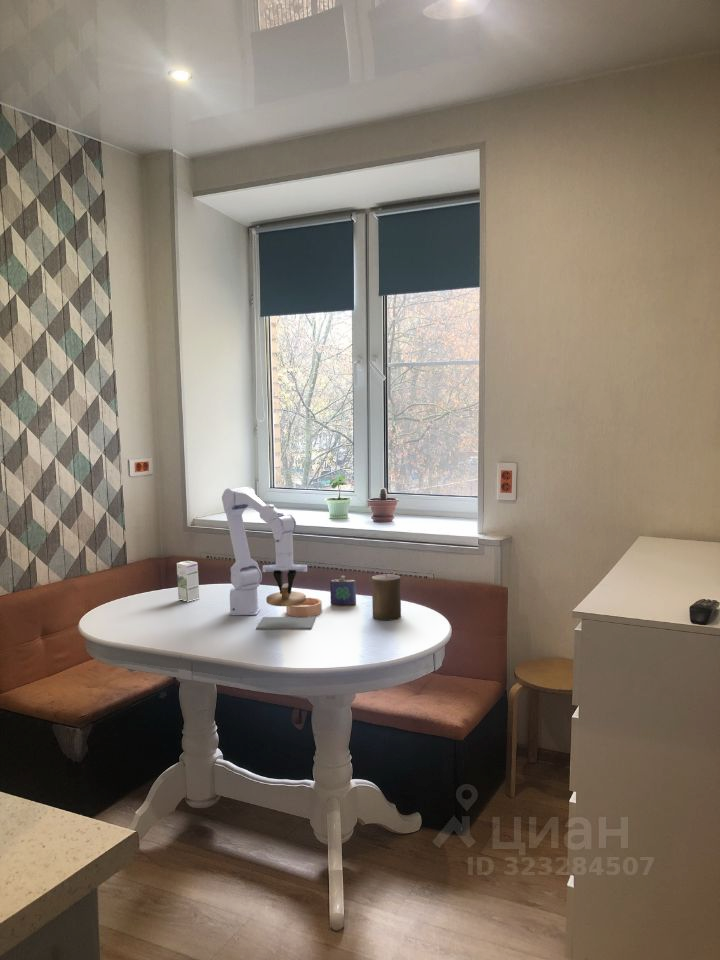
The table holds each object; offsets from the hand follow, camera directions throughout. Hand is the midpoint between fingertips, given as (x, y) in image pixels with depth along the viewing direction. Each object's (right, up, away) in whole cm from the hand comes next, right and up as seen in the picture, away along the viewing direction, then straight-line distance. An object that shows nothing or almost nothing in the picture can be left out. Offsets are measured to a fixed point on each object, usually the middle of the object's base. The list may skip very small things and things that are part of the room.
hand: (285, 593), depth 240 cm
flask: (+18, -8, +23) cm, 30 cm away
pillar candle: (+34, -9, +7) cm, 36 cm away
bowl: (+5, -9, +15) cm, 18 cm away
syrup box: (-40, -8, +34) cm, 53 cm away
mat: (0, -10, +1) cm, 10 cm away
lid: (0, -2, +1) cm, 3 cm away
